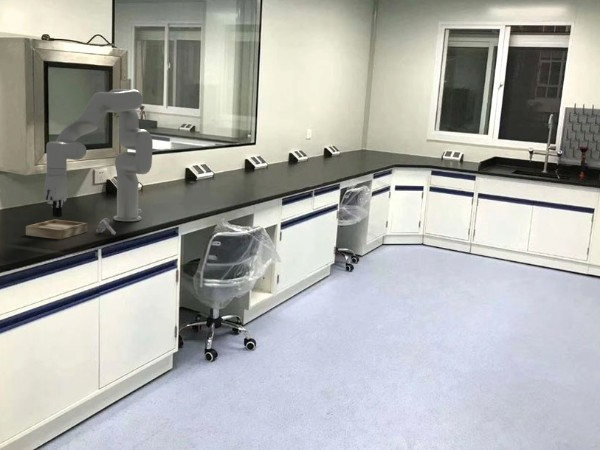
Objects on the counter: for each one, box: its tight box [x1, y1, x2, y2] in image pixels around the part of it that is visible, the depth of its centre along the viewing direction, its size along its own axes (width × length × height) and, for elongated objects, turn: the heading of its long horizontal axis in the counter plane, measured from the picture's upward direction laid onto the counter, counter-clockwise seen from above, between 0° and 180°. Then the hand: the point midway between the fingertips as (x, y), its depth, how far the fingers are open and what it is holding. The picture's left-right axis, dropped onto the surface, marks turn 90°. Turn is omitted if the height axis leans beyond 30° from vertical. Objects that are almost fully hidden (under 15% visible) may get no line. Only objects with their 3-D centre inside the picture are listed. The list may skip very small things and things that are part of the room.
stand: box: [96, 217, 117, 236], centre depth 251 cm, size 8×5×8 cm
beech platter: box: [25, 219, 88, 240], centre depth 247 cm, size 18×16×4 cm
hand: (57, 216), depth 247 cm, fingers closed
